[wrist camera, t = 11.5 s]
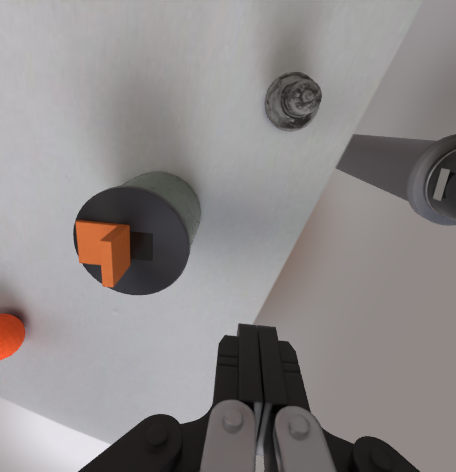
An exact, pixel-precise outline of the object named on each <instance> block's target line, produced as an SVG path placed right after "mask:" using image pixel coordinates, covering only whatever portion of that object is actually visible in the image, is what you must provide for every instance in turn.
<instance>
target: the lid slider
mask: <svg viewBox="0 0 456 472" xmlns="http://www.w3.org/2000/svg"><path fill="white" fill-rule="evenodd" d="M76 232H77V243H78V253H79V263H86V264H96V265H101V270H102V285H103V286H104V287H114V286H115V285H116V283H117V282H118V281H119V279H120V278H121V277H122V276H123V274H124V273H125V272H126V270H127V269H128V268H129V267H130V265H131V263H130V226H129V225H124V224H114V223H104V222H95V221H85V220H77V221H76Z"/></svg>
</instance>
